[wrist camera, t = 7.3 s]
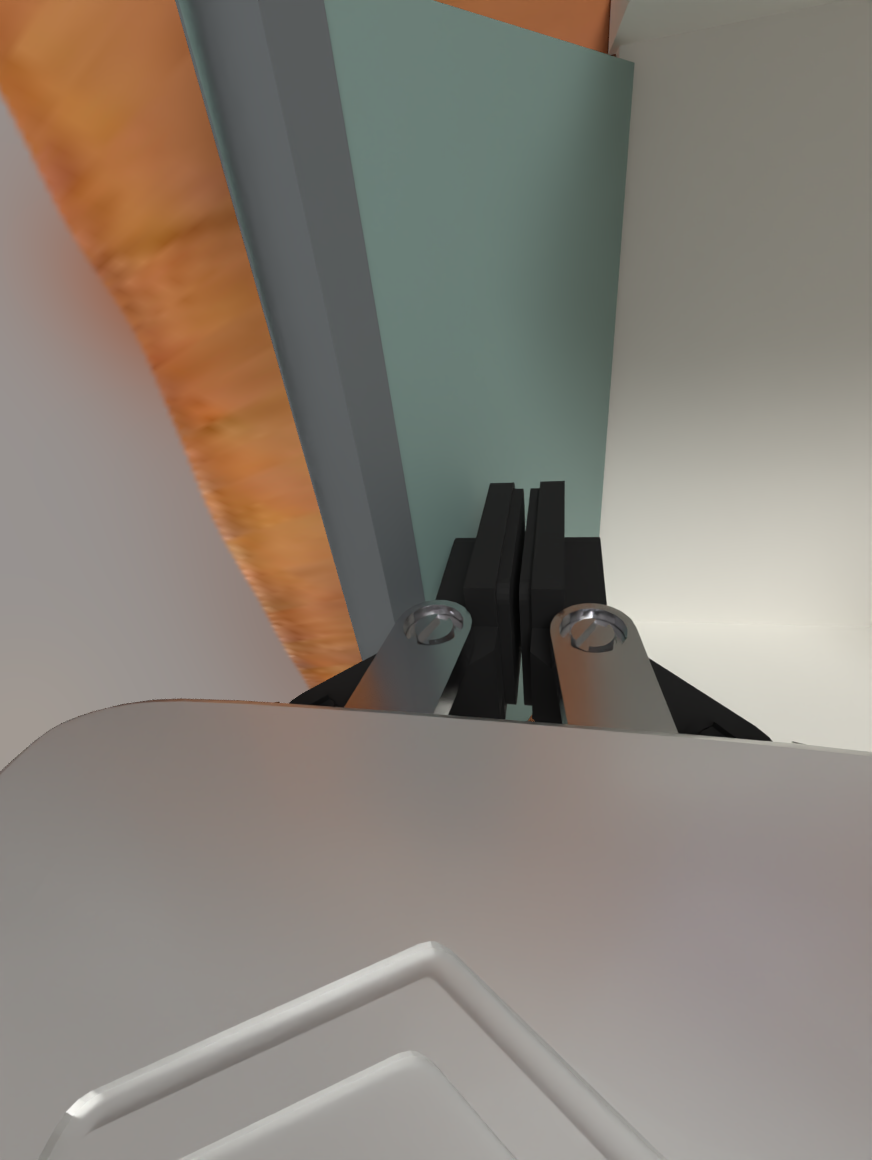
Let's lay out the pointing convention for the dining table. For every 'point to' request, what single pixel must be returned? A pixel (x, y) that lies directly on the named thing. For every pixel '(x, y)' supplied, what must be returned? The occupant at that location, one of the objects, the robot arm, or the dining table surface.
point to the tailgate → (424, 263)
